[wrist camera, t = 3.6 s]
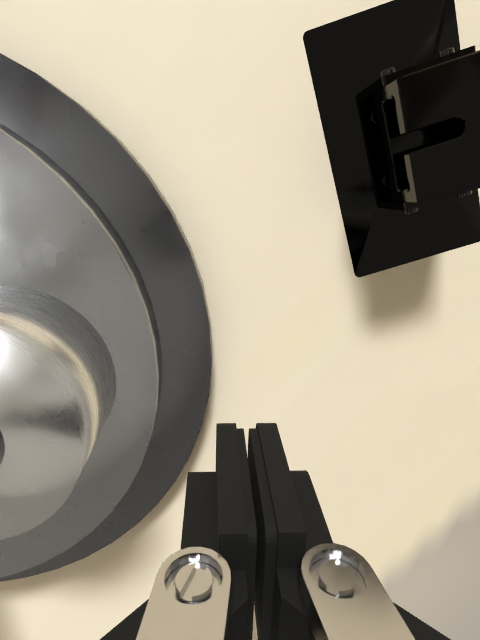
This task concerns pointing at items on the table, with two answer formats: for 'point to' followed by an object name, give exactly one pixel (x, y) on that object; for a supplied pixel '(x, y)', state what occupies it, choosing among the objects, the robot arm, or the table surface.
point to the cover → (47, 403)
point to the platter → (100, 310)
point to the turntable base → (156, 270)
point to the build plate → (400, 130)
